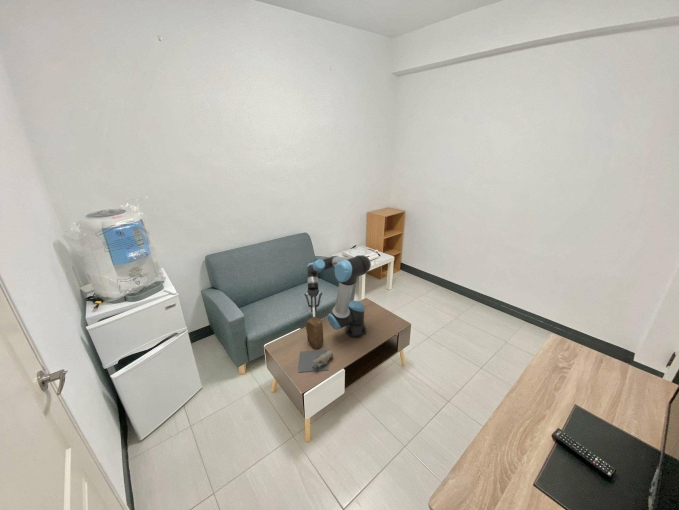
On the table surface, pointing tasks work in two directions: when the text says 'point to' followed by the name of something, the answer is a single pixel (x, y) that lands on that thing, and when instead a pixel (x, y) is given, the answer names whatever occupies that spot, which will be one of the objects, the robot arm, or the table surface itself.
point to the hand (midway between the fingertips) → (314, 316)
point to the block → (314, 332)
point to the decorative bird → (323, 358)
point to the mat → (311, 361)
